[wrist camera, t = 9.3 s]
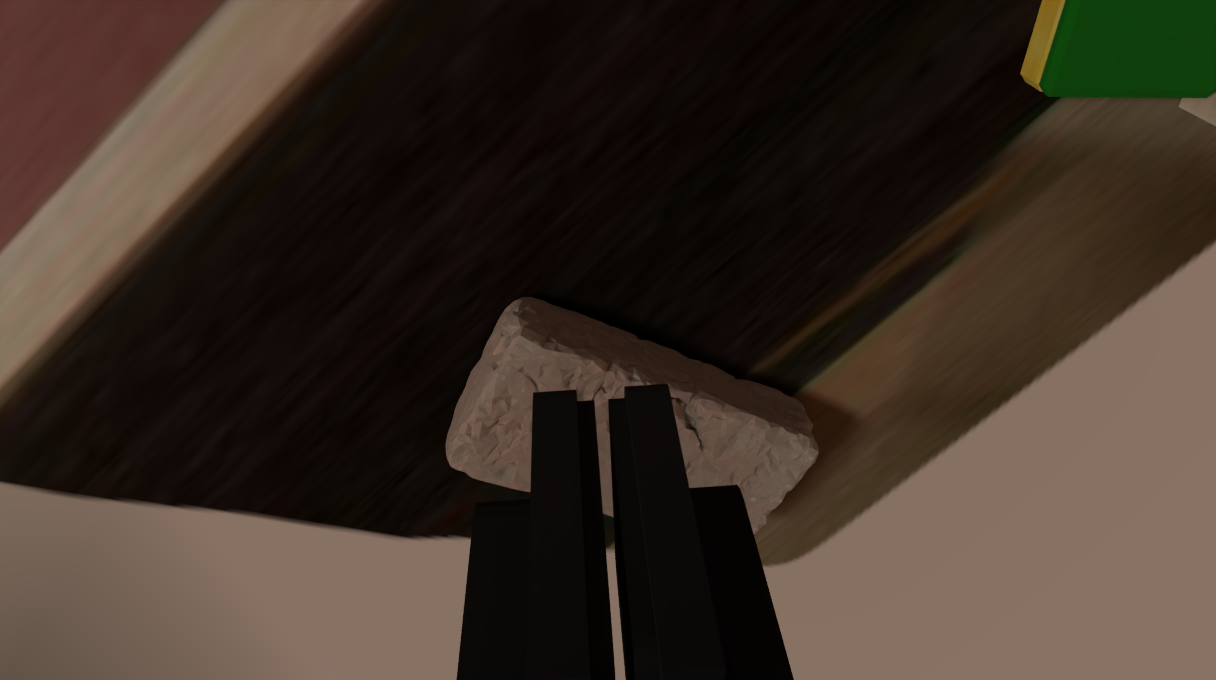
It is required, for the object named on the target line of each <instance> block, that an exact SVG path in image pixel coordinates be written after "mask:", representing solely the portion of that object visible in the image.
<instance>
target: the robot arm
mask: <svg viewBox="0 0 1216 680" xmlns="http://www.w3.org/2000/svg"><path fill="white" fill-rule="evenodd" d="M608 410H609V432H610V454H611V476H612V498H613V519H614V541H615V559H616V573H617V585H618V596H619V608H620V618H621V631H622V642H623V653H624V665H625V676H626V680H794V679H793V675H792V672H791V668H790V664H789V661H788V657H787V653H786V650H785V646H784V643H783V639H782V635H781V632H780V628H779V625H778V621H777V618H776V614H775V610H774V607H773V603H772V599H771V596H770V592H769V588H768V585H767V581H766V577H765V574H764V570H763V567H762V563H761V559H760V556H759V552H758V548H757V545H756V541H755V538H754V534H753V530H752V527H751V523H750V519H749V516H748V512H747V509H746V505H745V501H744V498H743V495H742V492H741V489H740V488H739V486H738V485H726V486H711V487H697V488H689V483H688V478H687V473H686V468H685V464H684V459H683V454H682V449H681V444H680V439H679V434H678V429H677V424H676V419H675V414H674V409H673V404H672V399H671V394H670V390H669V386H668V384H654V385H639V386H625V387H624V398H618V399H608ZM457 680H615V667H614V652H613V638H612V625H611V612H610V599H609V586H608V572H607V561H606V546H605V533H604V520H603V507H602V494H601V481H600V467H599V454H598V441H597V428H596V415H595V402H594V400H587V401H577V390H562V391H547V392H534V393H533V407H532V448H531V488H530V499H523V500H509V501H494V502H480V503H477V504H476V506H475V510H474V516H473V525H472V535H471V546H470V555H469V564H468V574H467V584H466V594H465V604H464V614H463V624H462V634H461V643H460V652H459V662H458V672H457Z"/></svg>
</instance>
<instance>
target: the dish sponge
mask: <svg viewBox="0 0 1216 680" xmlns="http://www.w3.org/2000/svg"><path fill="white" fill-rule="evenodd" d="M1020 74H1021V75H1022V77H1023V78H1024V80H1025V81H1026V83H1028V84H1030V85H1031V86H1033V87H1034V88H1036V89H1037V90H1039V91H1041V92H1043V93H1044V94H1045V95H1047V96H1048V97H1138V98H1208V97H1209V96H1210V95H1212V94H1213V93H1215V92H1216V0H1042V3H1041V7H1040V10H1039V13H1038V17H1037V20H1036V23H1035V27H1034V30H1033V33H1032V37H1031V40H1030V43H1029V47H1028V50H1027V53H1026V57H1025V60H1024V63H1023V67H1022V70H1021V73H1020Z"/></svg>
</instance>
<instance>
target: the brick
mask: <svg viewBox="0 0 1216 680" xmlns="http://www.w3.org/2000/svg"><path fill="white" fill-rule="evenodd" d="M654 384H668V386H669V390H670V394H671V399H672V404H673V409H674V414H675V419H676V424H677V429H678V434H679V439H680V444H681V449H682V454H683V459H684V464H685V468H686V473H687V478H688V483H689V488H697V487H711V486H726V485H738V486H739V488H740V489H741V492H742V495H743V498H744V501H745V505H746V509H747V512H748V516H749V519H750V523H751V527H752V530H753V534H754V535H755V534H756V533H757V531H758V530H759V529H760V528H761V527H762V526H764V525H765V524H767V521H768V517H769V514H770V513H771V511H772V510H773V509H775V508H776V507H777V506H778V505H780V503H781V502H782V501H783V499H784V497H785V495H786V493H787V492H788V491H790V490H792V489H793V488H794V487H795V485H796V484H797V483H798V482H799V481H800V480H801V479H802V477H803V476H804V474H805V472H806V471H807V470H808V469H809V468H810V466H812V465H813V464H814V463H815V461H816V459H817V456H818V454H819V449H818V444H817V443H816V441H815V439H814V437H813V434H812V433H811V431H812V428H813V426H814V425H813V424H812V422H811V420H810V419H809V417H808V416H807V414H806V411H805V408H804V406H803V404H802V403H800V402H799V401H797V399H796V398H793V397H790V396H787V395H785V394H783V393H782V392H781V391H779V390H777V389H774V388H771V387H768V386H765V385H762V384H759V383H756V382H753V381H749V380H742V379H737V380H736V379H735V377H734V376H732V375H729V374H728V373H726V372H724V371H723V370H721V369H719V368H717V367H715V366H713V365H711V364H707V363H702V362H701V361H698V360H693V359H689V358H687V357H685V356H683V355H682V354H680V353H679V352H677V351H676V350H673V349H670V348H667V347H663V346H661V345H658V344H656V343H654V342H651V341H649V340H641V339H638V338H637V336H636V335H634V334H631V333H629V332H626V331H624V330H621V329H619V328H616V327H613V326H609V325H607V324H605V323H603V322H601V321H598V320H595V319H592V318H589V317H587V316H585V315H582V314H580V313H577V312H574V311H570V310H566V309H563V308H561V307H558V306H555V305H551V304H549V303H547V302H545V301H543V300H539V299H535V298H533V297H522V298H520V299H518V300H516V301H514V302H512V303H511V304H510V305H509V306H508V307H507V308H506V309H505V310H504V312H503V314H502V315H501V317H500V318H499V320H498V322H497V324H496V326H495V328H494V331H493V333H492V335H491V336H490V338H489V340H488V342H487V344H486V346H485V348H484V351H483V355H482V357H481V359H480V361H479V362H478V363H477V364H476V366H475V367H474V368H473V370H472V371H471V374H470V376H469V378H468V381H467V384H466V387H465V389H464V391H463V394H462V395H461V397H460V399H459V401H458V403H457V406H456V408H455V411H454V416H453V420H452V423H451V426H450V429H449V432H448V435H447V440H446V456H447V459H448V461H449V464H450V466H451V467H453V468H454V469H456V470H459V471H463V472H466V473H467V474H468V475H469V476H470V477H472V478H475V479H478V480H481V481H485V482H489V483H493V484H497V485H501V486H504V487H508V488H512V489H516V490H521V491H527V492H530V488H531V448H532V407H533V393H534V392H547V391H562V390H577V401H587V400H594V402H595V415H596V428H597V441H598V454H599V467H600V481H601V494H602V507H603V513H604V514H606V515H609V516H612V517H613V498H612V476H611V454H610V432H609V410H608V399H618V398H624V387H625V386H639V385H654Z"/></svg>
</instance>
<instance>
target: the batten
mask: <svg viewBox="0 0 1216 680" xmlns="http://www.w3.org/2000/svg"><path fill="white" fill-rule="evenodd" d="M1178 107H1180V108H1182V109H1184V110H1186V111H1187V112H1189V113H1191V114H1193V115H1195V116H1197V117H1199V118H1201V119H1203V120H1205V121H1207V122H1208V123H1210V124H1212V125H1214V126H1216V92H1215V93H1213V94H1212V95H1210V96H1209V97H1208V98H1182V99H1181V102H1180V104H1179V106H1178Z"/></svg>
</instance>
